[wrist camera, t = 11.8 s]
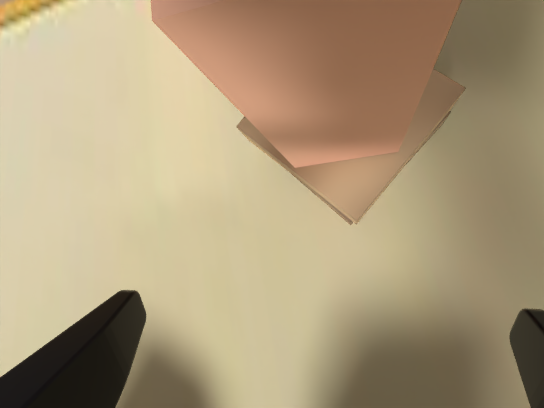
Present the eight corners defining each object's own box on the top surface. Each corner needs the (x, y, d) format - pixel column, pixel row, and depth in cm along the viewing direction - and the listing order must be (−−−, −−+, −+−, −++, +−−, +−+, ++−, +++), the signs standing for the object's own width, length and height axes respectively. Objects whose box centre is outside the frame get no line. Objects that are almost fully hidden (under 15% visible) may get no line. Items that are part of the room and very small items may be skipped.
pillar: (398, 151, 17) (494, -77, 5) (294, 167, 18) (152, 21, 6) (383, 52, 17) (433, -381, 5) (284, 74, 18) (135, -237, 6)
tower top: (451, 108, 19) (465, 88, 16) (356, 224, 19) (357, 220, 17) (333, 35, 21) (331, 7, 18) (249, 140, 21) (236, 126, 19)
